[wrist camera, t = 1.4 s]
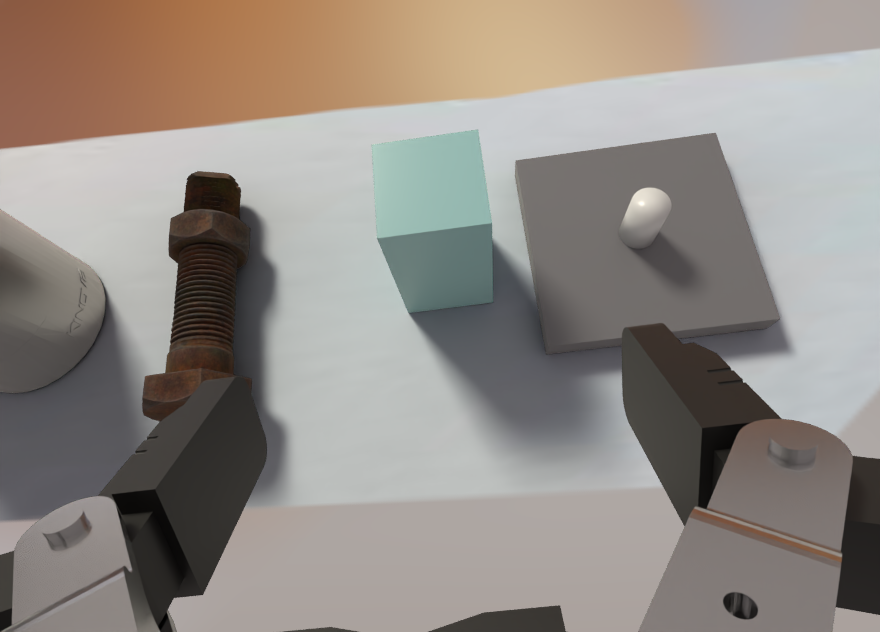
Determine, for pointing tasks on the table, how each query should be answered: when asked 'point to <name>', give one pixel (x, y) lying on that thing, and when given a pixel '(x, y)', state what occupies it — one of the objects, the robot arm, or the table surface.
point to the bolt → (201, 292)
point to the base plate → (648, 279)
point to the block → (435, 220)
